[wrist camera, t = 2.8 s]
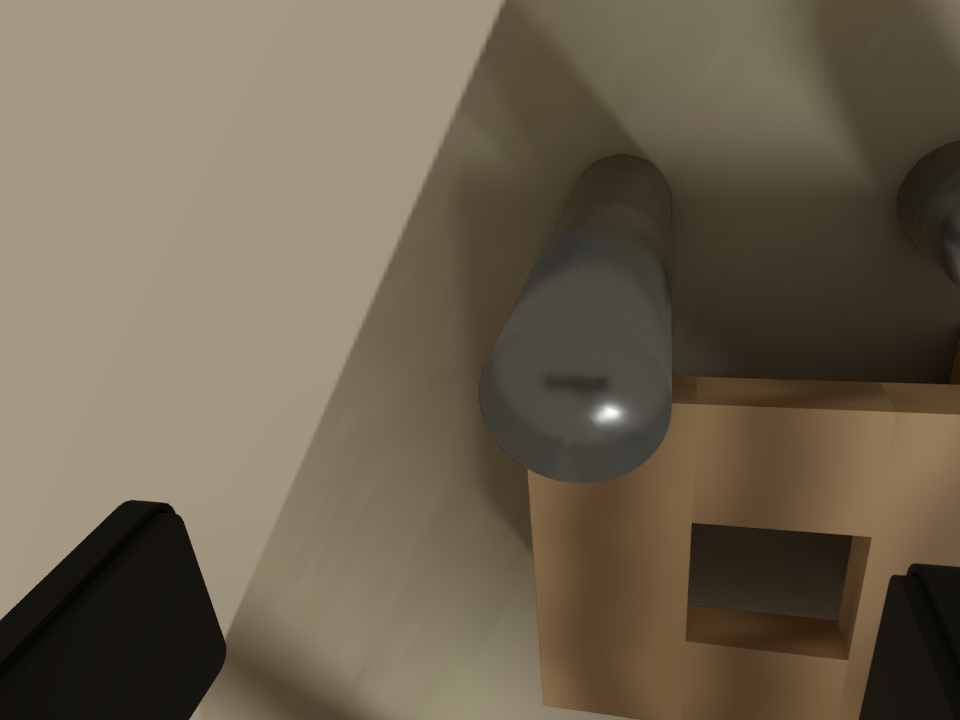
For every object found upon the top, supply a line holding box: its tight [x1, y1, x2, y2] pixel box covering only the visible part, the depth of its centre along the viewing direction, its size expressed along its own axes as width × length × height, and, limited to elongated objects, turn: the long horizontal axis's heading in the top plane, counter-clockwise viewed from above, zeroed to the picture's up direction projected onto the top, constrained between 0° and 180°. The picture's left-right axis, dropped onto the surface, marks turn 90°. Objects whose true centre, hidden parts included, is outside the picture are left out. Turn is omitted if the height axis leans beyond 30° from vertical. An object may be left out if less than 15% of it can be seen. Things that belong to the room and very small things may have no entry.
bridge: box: [527, 337, 960, 720], centre depth 30 cm, size 18×16×7 cm
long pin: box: [479, 155, 672, 483], centre depth 22 cm, size 4×4×16 cm
